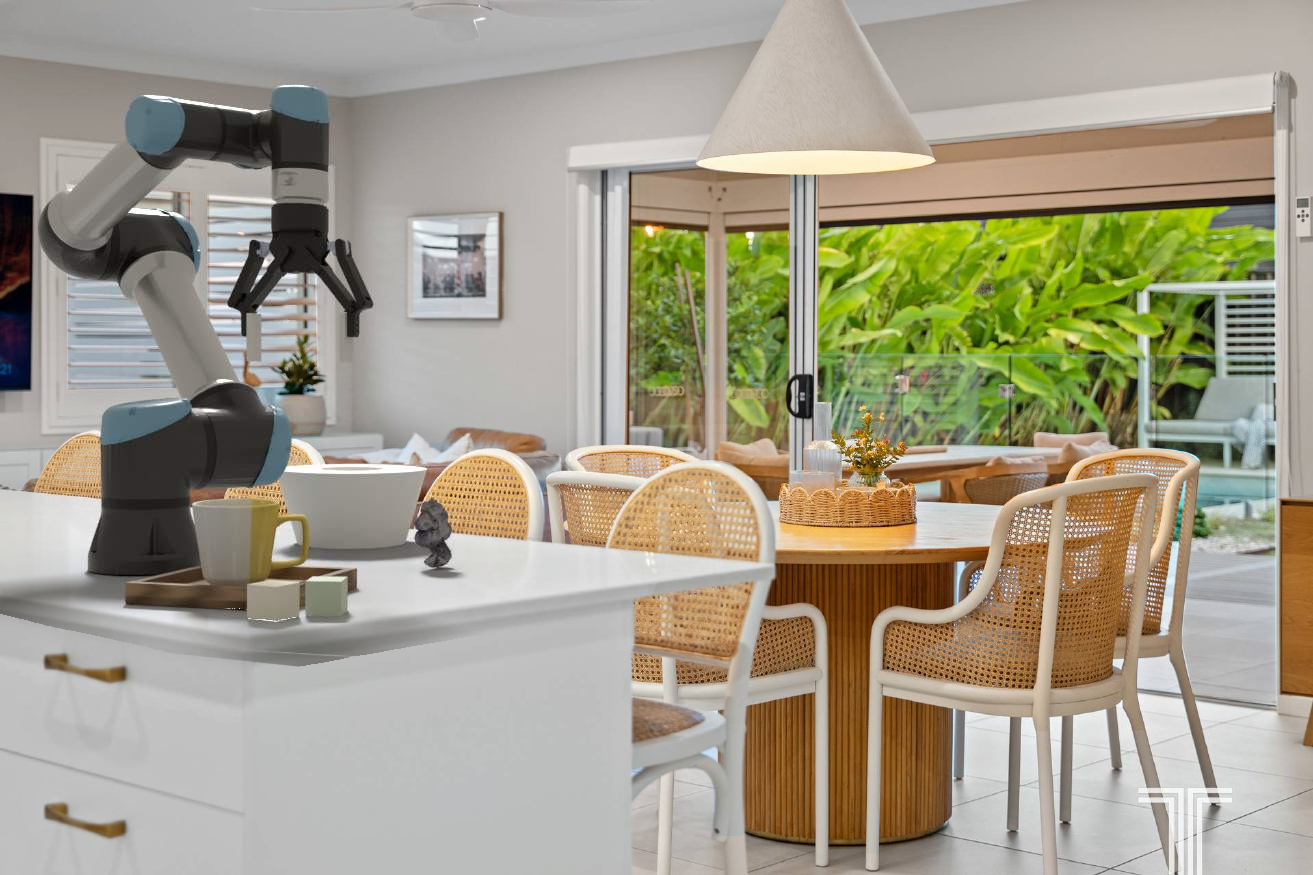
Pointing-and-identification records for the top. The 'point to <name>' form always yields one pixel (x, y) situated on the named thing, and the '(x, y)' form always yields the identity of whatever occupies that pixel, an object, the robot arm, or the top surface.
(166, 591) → the tray
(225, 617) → the top surface
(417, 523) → the grey stone bust
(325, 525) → the bowl
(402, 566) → the top surface
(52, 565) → the top surface
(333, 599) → the sage block
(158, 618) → the top surface
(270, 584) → the cream block
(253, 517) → the mug
